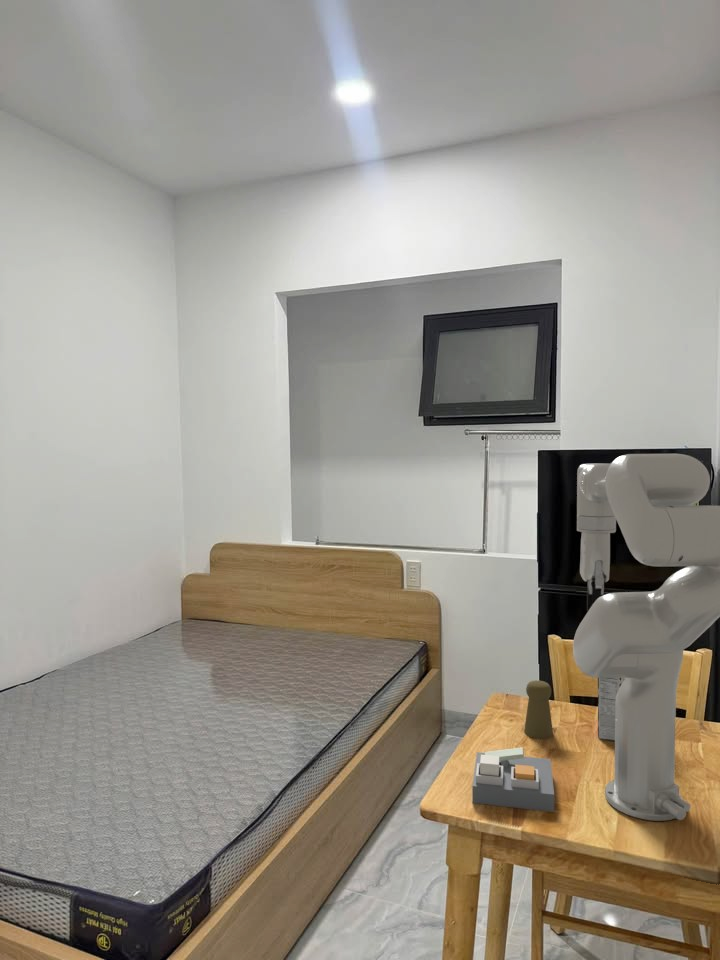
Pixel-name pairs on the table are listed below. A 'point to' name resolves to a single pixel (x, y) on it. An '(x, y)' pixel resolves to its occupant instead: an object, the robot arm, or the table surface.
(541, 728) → the cork
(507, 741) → the table surface
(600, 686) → the candy bar box
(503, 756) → the block
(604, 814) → the table surface
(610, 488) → the robot arm
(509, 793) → the switch panel
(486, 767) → the cream button
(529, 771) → the orange button
